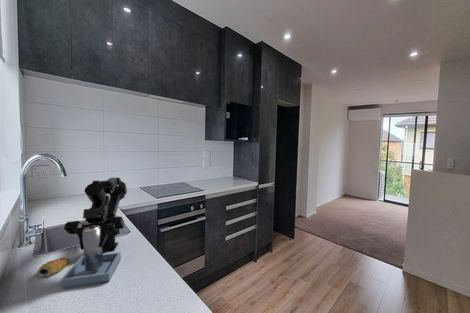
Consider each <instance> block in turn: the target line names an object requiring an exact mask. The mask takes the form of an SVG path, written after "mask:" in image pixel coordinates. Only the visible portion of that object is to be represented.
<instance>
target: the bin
mask: <svg viewBox="0 0 470 313" xmlns="http://www.w3.org/2000/svg"><path fill="white" fill-rule="evenodd" d="M121 259H122V256H121V252H111V253H103V265H102V266H101V267H100V268H98V269H96V270H92V271H87V270H85V262H84V256H81V257H80V258H79V259H78V260H77V261H76V263H74V265H72V267H71V268H70V269H69V270H68V271H67V272H66V274H65V275H64V276H63V277H62V278H61V279H60V280H61V281H60V282H61V289H69V288H78V287H83V286H90V285H98V284H104V283H110V281H111V279H112V278H113V276H114V274H115V271H116V270H117V267H118V266H119V264H120V261H121Z"/></svg>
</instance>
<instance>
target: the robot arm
mask: <svg viewBox="0 0 470 313" xmlns="http://www.w3.org/2000/svg"><path fill="white" fill-rule="evenodd" d="M127 192H128V188H127V185H126V183H125V182H123V181H122V180H121V178H120V177H110V178H108V179H106V180H93V181H92V183H89V184H88V185H87V186H85V188H84V193H85V195H86V196H87V198H88V199H89V202H91V207H89V208H84V209H83V213H82V214H83V215H82V219H85V223H82V222H80V221H79V220H72V221H71V220H70V221H66V223H64V227H63V230H64V231H65V232H66V233H67V234H69V235H77V236H78V241H79V247H80V250H81V251H84V250H83V237H82V231H83V229H84V228H85V227H88V226H91V225H99V226H100V227H101V242H100V247H102V253H103V252H105V253H106V252H113V251H115V250H116V248H117V247H118V245H119V242H116V236H118V235H119V234H121V232H120V230H122V229H124V228H125V219H124V218H123V217H122V216H116V215H117V211H118V208H119V205H120V201H122V200H123V199H124V198H125V197H126V194H127Z"/></svg>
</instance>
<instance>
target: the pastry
mask: <svg viewBox="0 0 470 313" xmlns="http://www.w3.org/2000/svg"><path fill="white" fill-rule="evenodd" d="M68 264H69V259H68V258H66V257H60V258H56V259H53V260H49V261H47V262H46V263H43V264H42V265H41V266H40V267H39V268H38V269H37V271H36V275H37V276H39V277H51V276H54V275H57V274H58V273H59V272H61V271H63V269H65V268H66V267H67V266H68Z"/></svg>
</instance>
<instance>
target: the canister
mask: <svg viewBox="0 0 470 313" xmlns="http://www.w3.org/2000/svg"><path fill="white" fill-rule="evenodd" d="M82 237H83V250H82V251H83V257H84V262H85V270H87V271H92V270H96V269H98V268H100V267H101V266H102V265H103V254H104V253H103V252H102V247H100V242H101V227H100V226H99V225H91V226H88V227H85V228H84V229H83V231H82Z"/></svg>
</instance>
